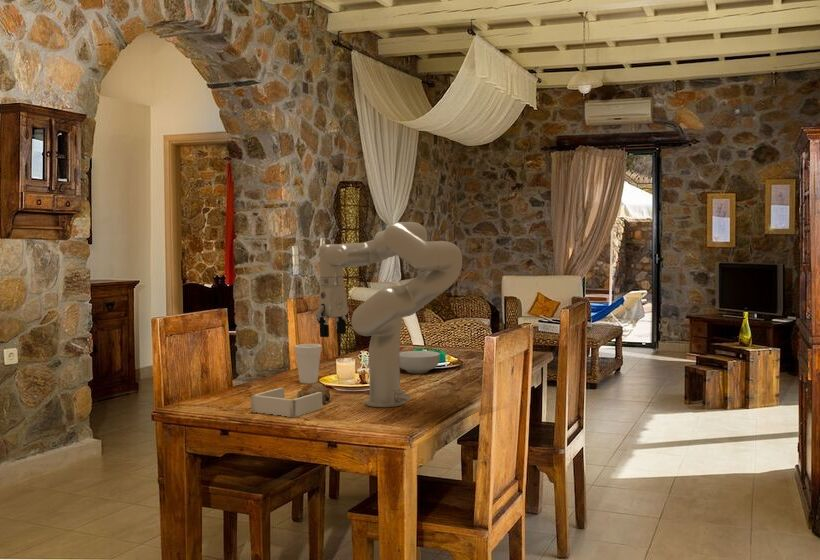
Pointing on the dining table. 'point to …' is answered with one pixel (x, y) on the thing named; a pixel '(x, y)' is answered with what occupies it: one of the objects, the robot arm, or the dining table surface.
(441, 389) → the dining table surface
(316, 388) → the bread roll
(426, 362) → the cereal bowl
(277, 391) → the bin
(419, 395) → the dining table surface
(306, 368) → the foam cup
